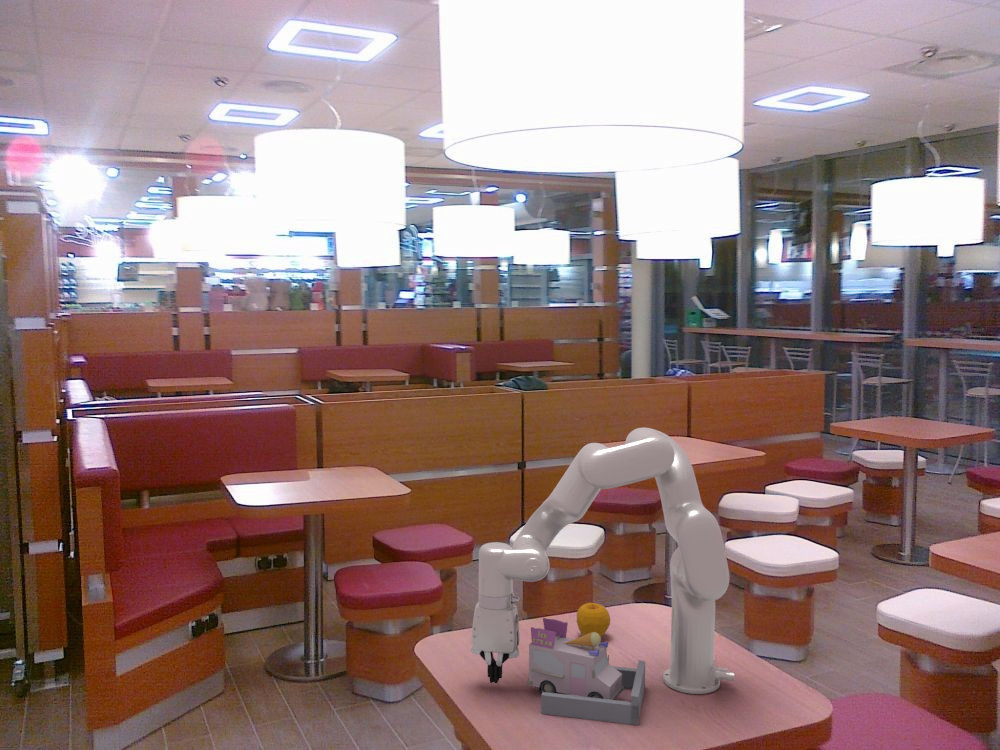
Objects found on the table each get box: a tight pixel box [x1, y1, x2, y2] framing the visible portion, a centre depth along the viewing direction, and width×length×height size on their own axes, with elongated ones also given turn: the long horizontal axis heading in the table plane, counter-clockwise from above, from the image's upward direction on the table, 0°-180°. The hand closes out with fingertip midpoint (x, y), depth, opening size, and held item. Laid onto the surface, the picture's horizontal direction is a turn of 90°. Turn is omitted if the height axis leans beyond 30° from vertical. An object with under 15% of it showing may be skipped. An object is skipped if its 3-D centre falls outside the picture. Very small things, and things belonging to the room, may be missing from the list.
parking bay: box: [540, 660, 646, 726], centre depth 188 cm, size 20×18×6 cm
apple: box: [576, 602, 611, 638], centre depth 222 cm, size 8×8×9 cm
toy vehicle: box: [526, 617, 625, 700], centre depth 189 cm, size 9×20×15 cm, turn 62°
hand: (494, 680), depth 193 cm, fingers closed
